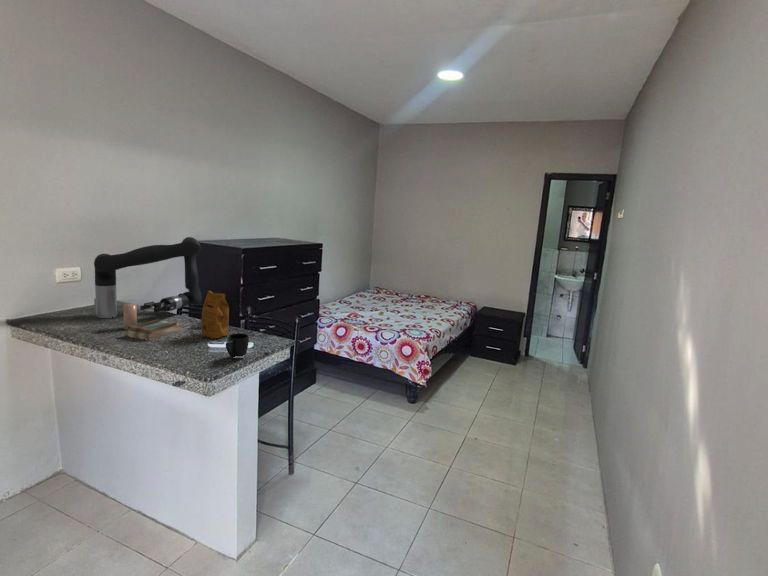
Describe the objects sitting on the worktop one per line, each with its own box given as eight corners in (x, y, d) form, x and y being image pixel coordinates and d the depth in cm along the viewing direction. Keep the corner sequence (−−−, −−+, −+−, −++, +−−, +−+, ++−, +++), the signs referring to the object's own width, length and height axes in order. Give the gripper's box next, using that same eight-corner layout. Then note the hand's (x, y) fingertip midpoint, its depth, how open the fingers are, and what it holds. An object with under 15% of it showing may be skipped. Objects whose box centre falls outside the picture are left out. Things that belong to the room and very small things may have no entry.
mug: (217, 360, 174) (218, 339, 172) (236, 352, 185) (236, 332, 183) (234, 364, 171) (234, 342, 170) (252, 356, 183) (252, 335, 181)
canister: (121, 328, 203) (120, 305, 201) (130, 326, 208) (130, 303, 206) (130, 330, 202) (129, 306, 200) (139, 327, 207) (139, 304, 205)
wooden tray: (127, 336, 193) (127, 326, 193) (160, 326, 212) (160, 316, 212) (149, 340, 190) (149, 330, 190) (180, 329, 209) (180, 320, 209)
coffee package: (214, 330, 213) (215, 288, 209) (231, 336, 207) (232, 292, 203) (197, 334, 204) (197, 291, 201) (214, 340, 199) (215, 295, 195)
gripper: (160, 295, 230) (136, 300, 215) (182, 298, 227) (159, 304, 212) (160, 308, 232) (136, 314, 216) (182, 311, 228) (159, 318, 213)
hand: (147, 309), depth 214 cm, fingers open, 8 cm apart
